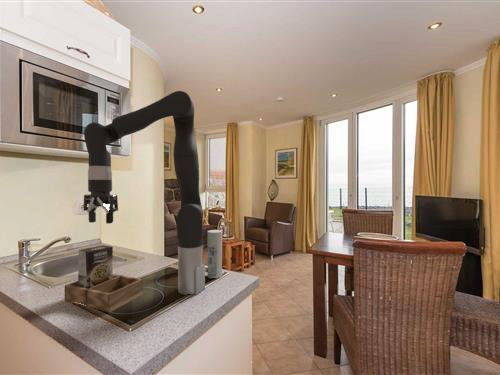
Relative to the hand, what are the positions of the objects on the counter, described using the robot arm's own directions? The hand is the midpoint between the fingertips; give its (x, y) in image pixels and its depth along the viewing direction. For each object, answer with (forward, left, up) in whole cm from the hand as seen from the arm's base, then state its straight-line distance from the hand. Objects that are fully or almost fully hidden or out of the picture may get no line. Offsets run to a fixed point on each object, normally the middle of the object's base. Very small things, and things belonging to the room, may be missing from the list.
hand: (100, 222), depth 90 cm
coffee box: (+1, +2, -25) cm, 25 cm away
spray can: (-31, -30, -27) cm, 51 cm away
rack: (-4, +2, -26) cm, 27 cm away
